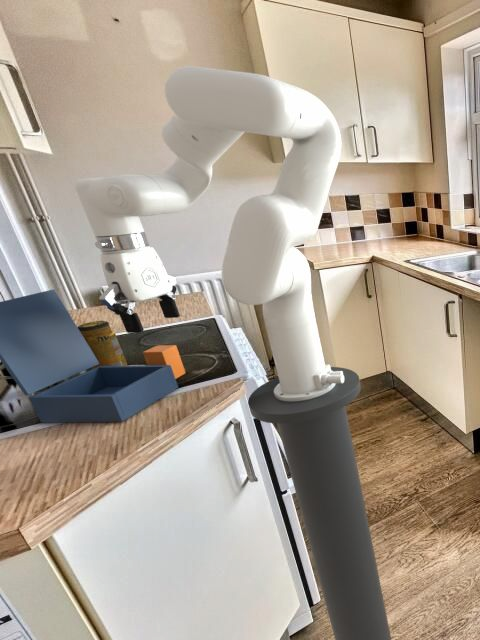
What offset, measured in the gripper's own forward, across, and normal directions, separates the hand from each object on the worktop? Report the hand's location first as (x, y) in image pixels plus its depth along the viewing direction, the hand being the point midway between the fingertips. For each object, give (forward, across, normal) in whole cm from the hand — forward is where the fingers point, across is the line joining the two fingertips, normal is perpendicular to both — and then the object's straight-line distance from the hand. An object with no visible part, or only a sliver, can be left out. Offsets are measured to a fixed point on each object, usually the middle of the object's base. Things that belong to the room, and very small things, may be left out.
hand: (155, 324), depth 90 cm
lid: (-2, -12, +11) cm, 17 cm away
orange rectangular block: (+13, 0, +1) cm, 13 cm away
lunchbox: (+12, -12, +3) cm, 18 cm away
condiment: (+12, +3, +17) cm, 21 cm away
